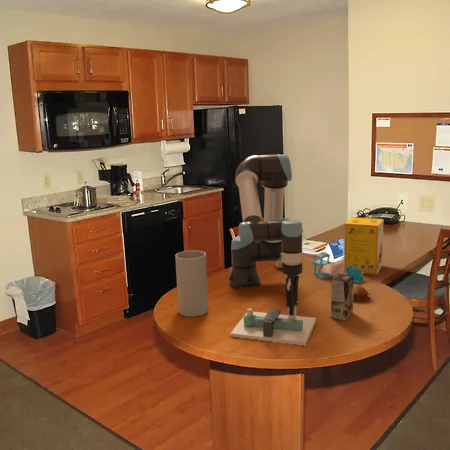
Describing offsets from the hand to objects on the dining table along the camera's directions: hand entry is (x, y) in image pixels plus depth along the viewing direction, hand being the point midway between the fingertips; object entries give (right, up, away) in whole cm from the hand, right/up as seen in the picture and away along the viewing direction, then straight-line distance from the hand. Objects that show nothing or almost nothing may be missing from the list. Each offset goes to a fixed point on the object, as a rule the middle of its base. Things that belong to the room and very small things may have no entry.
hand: (292, 321), depth 193 cm
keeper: (-8, -3, -2) cm, 9 cm away
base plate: (-6, -3, +2) cm, 8 cm away
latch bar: (-7, -2, 0) cm, 8 cm away
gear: (+37, +9, +51) cm, 64 cm away
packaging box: (+46, +14, +71) cm, 86 cm away
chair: (+23, +11, +62) cm, 67 cm away
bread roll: (+33, +4, +31) cm, 45 cm away
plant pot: (+5, +14, +79) cm, 80 cm away
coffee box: (+22, 0, +13) cm, 25 cm away
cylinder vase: (-39, 0, +22) cm, 45 cm away
